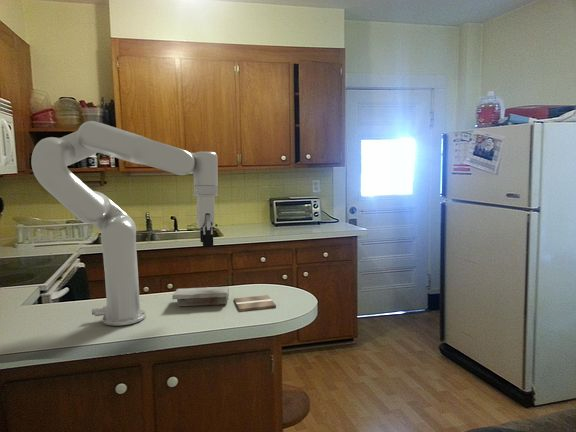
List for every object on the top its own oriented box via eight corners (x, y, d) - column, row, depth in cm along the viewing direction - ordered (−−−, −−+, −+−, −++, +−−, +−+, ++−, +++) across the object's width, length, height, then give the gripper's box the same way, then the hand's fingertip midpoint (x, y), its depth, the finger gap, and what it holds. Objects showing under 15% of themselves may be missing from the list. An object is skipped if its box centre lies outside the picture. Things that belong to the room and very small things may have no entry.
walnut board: (239, 311, 141) (239, 308, 141) (233, 300, 153) (233, 298, 153) (276, 307, 144) (275, 305, 144) (267, 297, 156) (267, 294, 156)
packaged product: (227, 306, 146) (229, 299, 155) (227, 292, 145) (229, 286, 155) (172, 309, 144) (177, 301, 154) (171, 294, 144) (176, 288, 154)
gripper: (192, 189, 148) (193, 240, 149) (195, 192, 131) (196, 249, 133) (215, 189, 150) (215, 239, 151) (221, 192, 133) (221, 248, 135)
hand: (206, 244), depth 142 cm, fingers open, 9 cm apart
